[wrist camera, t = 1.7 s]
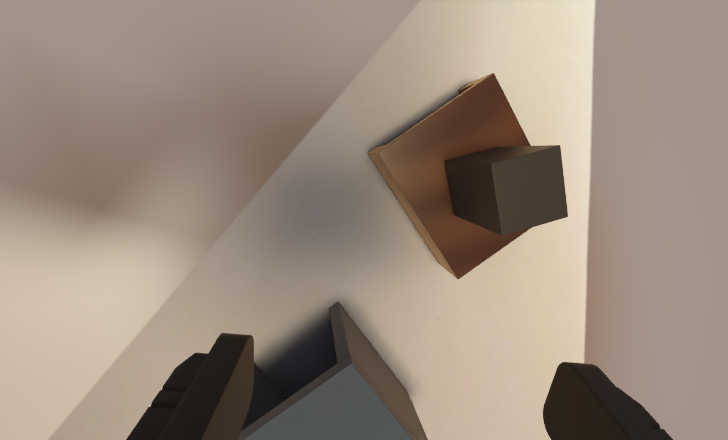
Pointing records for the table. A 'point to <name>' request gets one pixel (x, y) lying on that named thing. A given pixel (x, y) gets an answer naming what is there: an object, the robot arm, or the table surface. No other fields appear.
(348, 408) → the grey step stool
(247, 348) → the robot arm
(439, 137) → the brown wooden box
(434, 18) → the table surface
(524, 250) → the table surface
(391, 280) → the table surface
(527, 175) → the black block
